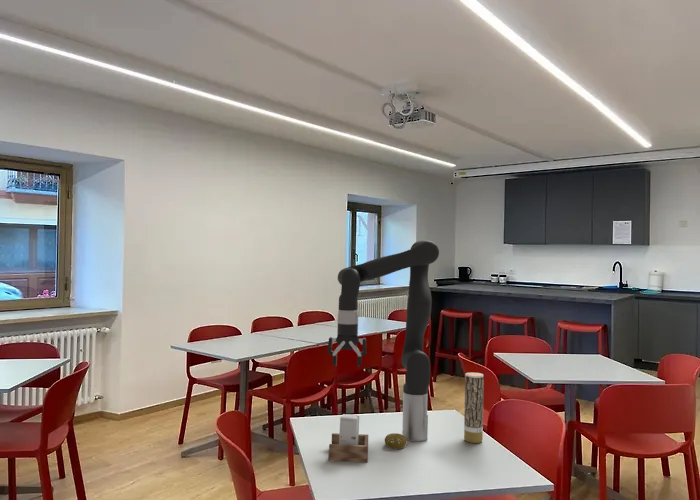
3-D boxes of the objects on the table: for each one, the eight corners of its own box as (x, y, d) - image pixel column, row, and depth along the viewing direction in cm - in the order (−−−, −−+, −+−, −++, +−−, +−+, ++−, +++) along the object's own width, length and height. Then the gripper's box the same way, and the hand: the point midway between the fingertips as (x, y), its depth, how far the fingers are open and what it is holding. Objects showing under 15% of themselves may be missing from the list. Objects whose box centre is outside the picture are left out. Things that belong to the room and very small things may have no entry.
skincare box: (338, 452, 180) (339, 417, 180) (341, 448, 184) (342, 413, 184) (355, 454, 178) (356, 418, 178) (358, 450, 182) (359, 415, 182)
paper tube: (462, 442, 196) (463, 375, 196) (465, 436, 202) (466, 371, 203) (481, 445, 193) (482, 377, 194) (483, 439, 200) (484, 373, 200)
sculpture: (411, 435, 191) (397, 440, 185) (411, 446, 190) (397, 452, 185) (393, 430, 196) (380, 435, 190) (393, 441, 196) (379, 446, 190)
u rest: (368, 449, 187) (368, 434, 187) (367, 462, 175) (368, 446, 175) (331, 447, 187) (332, 433, 187) (328, 460, 175) (329, 445, 175)
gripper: (367, 321, 197) (366, 364, 197) (329, 320, 198) (328, 363, 197) (366, 323, 190) (366, 368, 189) (327, 322, 190) (326, 367, 190)
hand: (346, 366), depth 193 cm, fingers open, 8 cm apart
